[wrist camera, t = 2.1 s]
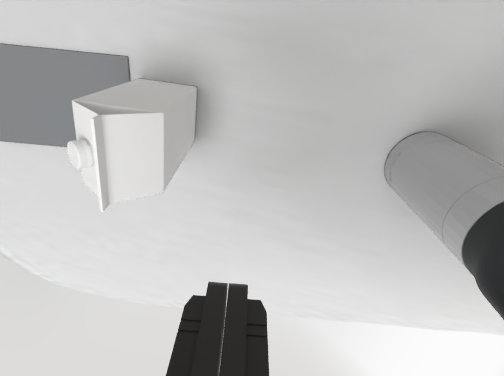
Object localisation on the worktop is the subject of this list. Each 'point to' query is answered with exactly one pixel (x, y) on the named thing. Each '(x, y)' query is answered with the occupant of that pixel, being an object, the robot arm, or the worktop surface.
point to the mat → (50, 90)
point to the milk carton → (132, 138)
